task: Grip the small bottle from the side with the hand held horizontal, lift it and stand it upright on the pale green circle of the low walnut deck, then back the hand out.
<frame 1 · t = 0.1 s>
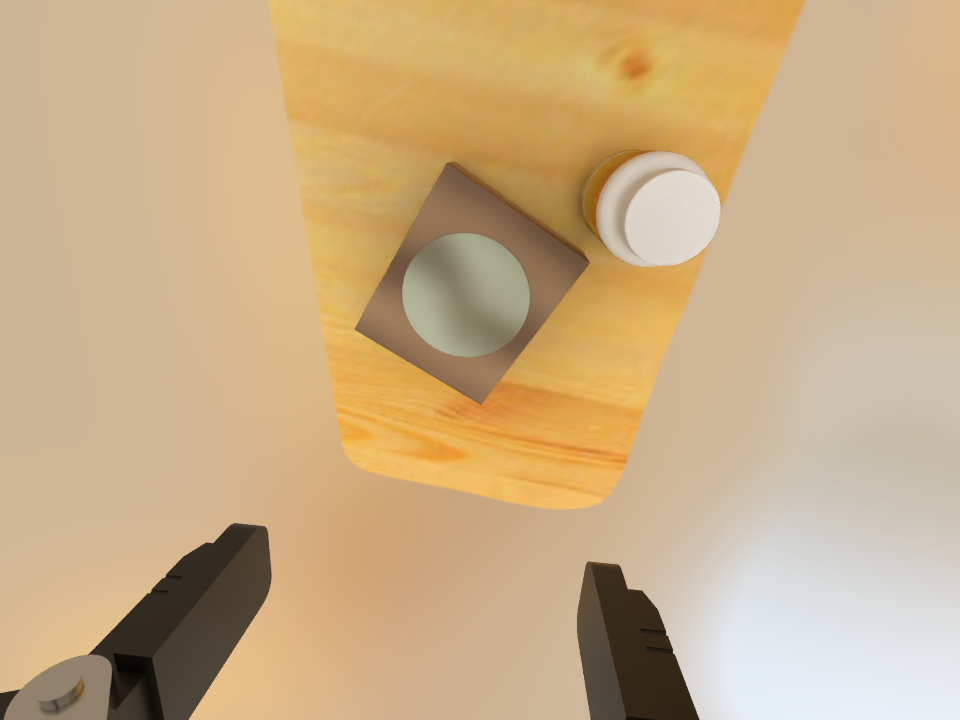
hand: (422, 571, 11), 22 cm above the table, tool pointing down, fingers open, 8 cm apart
supplement bottle: (623, 197, 28), on the table
deck: (470, 284, 31), on the table
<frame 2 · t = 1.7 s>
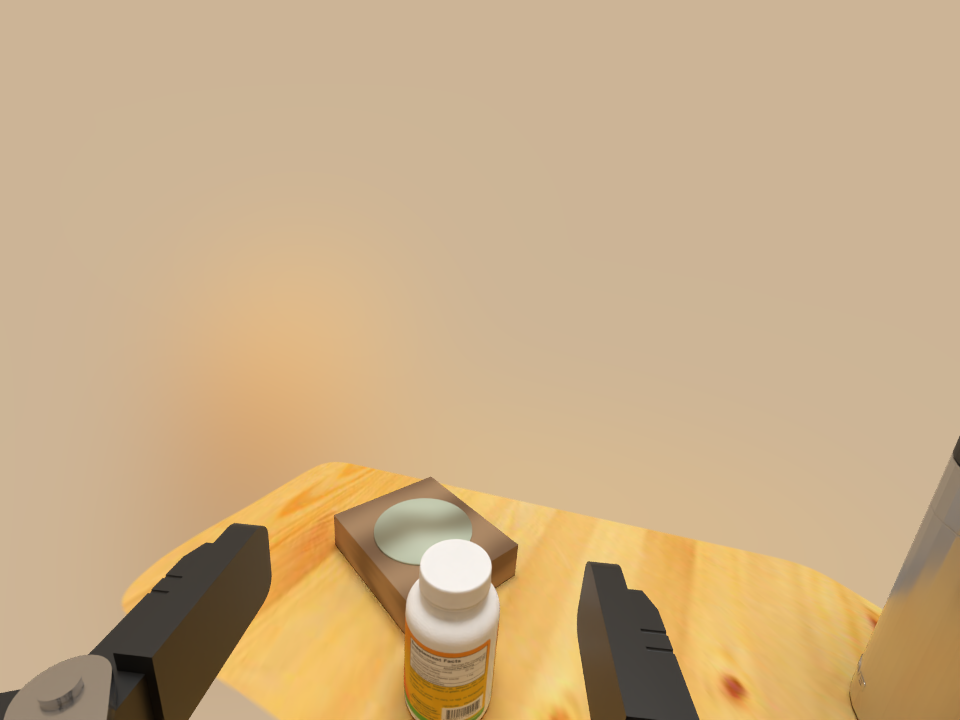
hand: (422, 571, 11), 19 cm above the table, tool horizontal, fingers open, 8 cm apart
supplement bottle: (447, 692, 28), on the table
deck: (422, 559, 38), on the table
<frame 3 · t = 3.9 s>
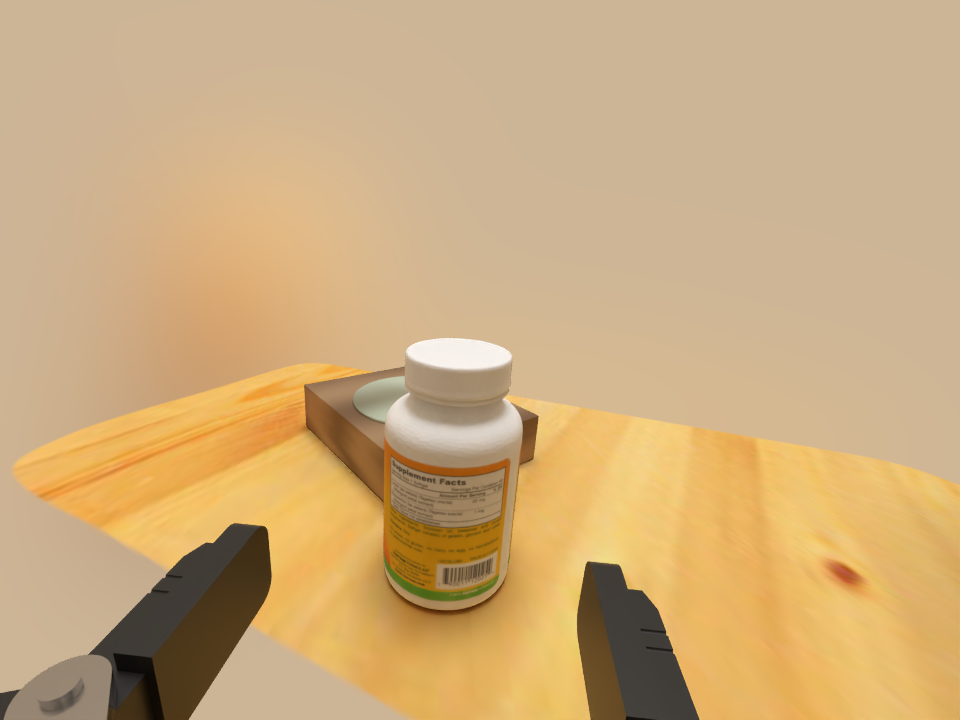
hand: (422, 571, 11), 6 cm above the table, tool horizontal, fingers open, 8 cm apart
supplement bottle: (446, 567, 20), on the table
deck: (415, 441, 30), on the table
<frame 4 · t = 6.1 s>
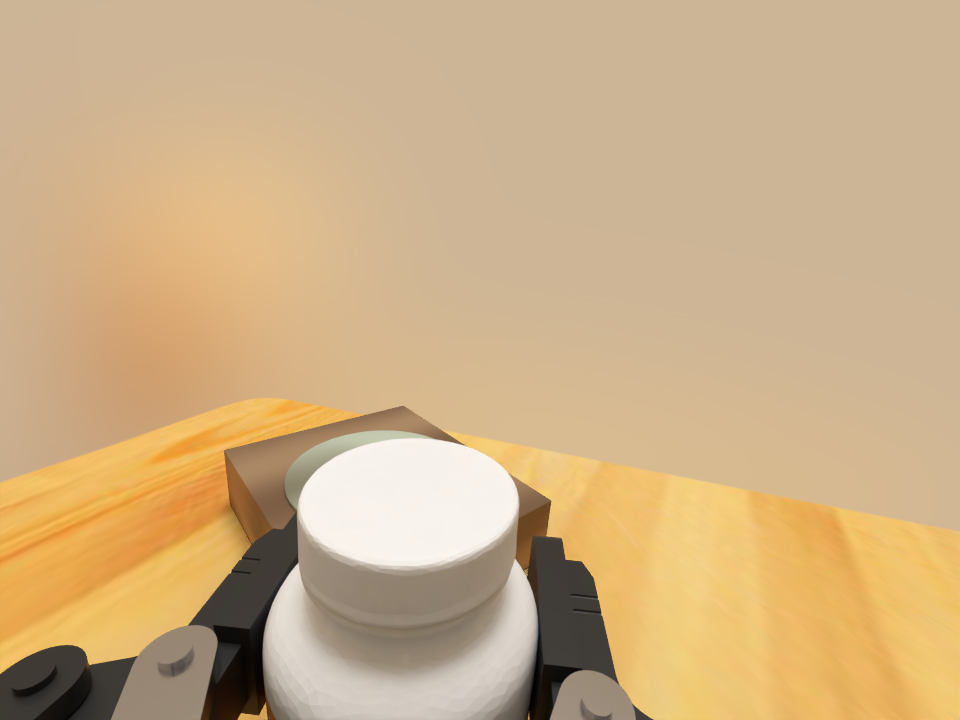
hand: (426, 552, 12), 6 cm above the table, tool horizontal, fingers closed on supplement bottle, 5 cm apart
deck: (379, 529, 21), on the table
when the fingers open (10 cm above the table, at t = 10.3 s): supplement bottle stays where it is, resting on deck.
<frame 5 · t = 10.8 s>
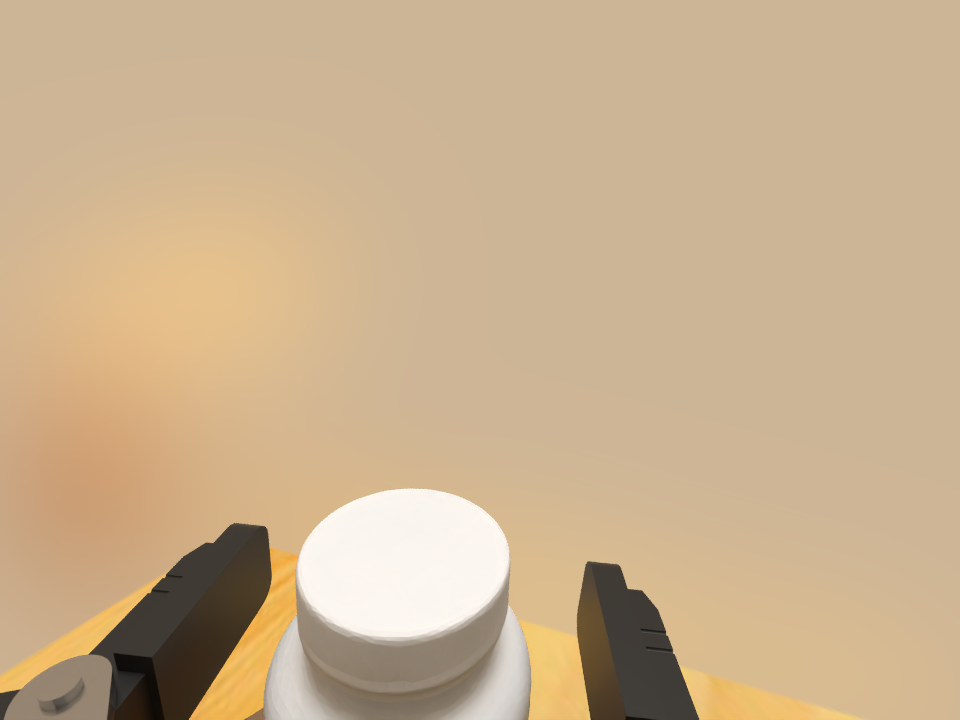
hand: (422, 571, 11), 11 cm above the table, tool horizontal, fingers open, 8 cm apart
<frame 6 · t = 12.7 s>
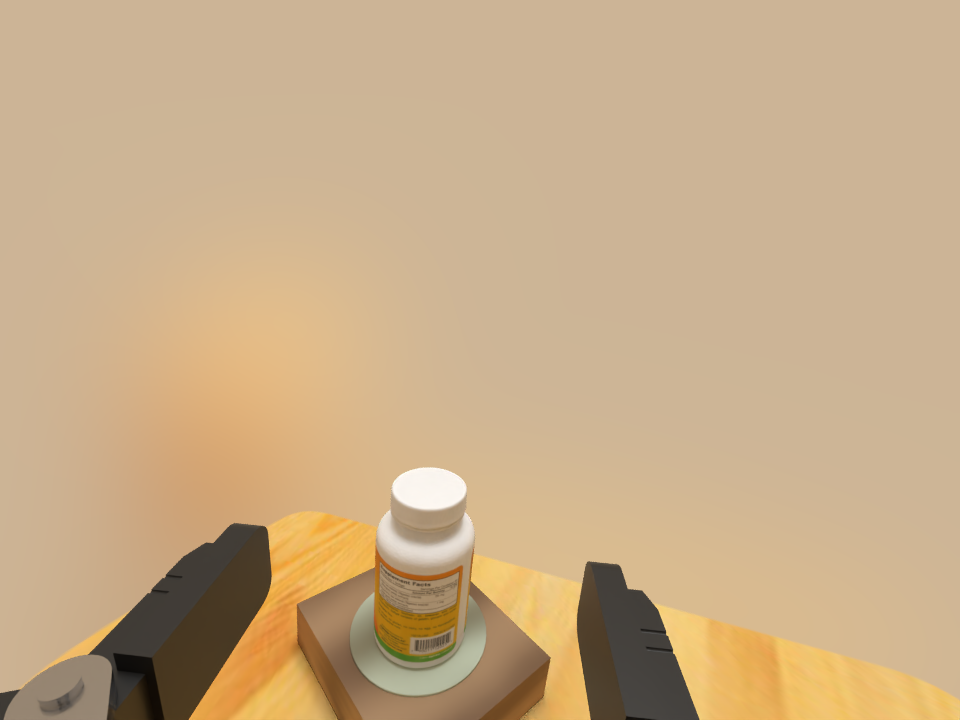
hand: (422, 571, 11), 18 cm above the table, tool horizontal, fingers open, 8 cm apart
supplement bottle: (419, 631, 27), point 3 cm above the table, touching deck
deck: (416, 668, 28), on the table
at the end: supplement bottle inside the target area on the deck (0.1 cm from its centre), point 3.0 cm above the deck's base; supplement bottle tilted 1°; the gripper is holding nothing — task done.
